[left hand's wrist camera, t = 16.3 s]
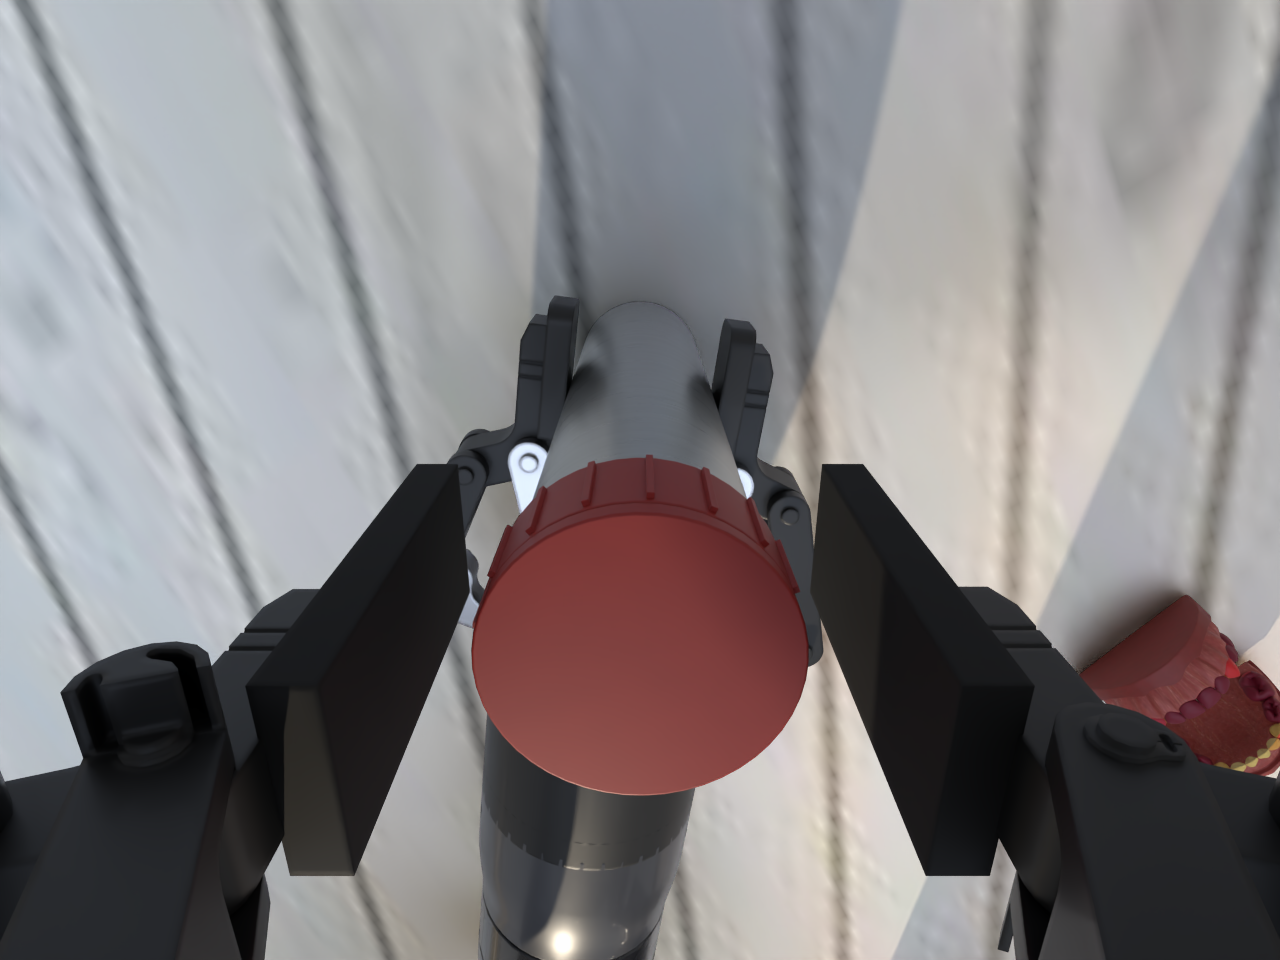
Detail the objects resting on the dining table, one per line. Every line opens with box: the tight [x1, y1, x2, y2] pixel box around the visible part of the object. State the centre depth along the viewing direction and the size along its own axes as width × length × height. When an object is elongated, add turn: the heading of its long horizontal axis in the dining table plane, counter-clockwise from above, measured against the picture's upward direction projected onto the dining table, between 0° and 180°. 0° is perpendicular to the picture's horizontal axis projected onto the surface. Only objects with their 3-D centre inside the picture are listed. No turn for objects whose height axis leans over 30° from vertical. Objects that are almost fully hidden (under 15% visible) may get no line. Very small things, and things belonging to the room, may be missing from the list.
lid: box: [471, 454, 809, 795], centre depth 11 cm, size 5×5×2 cm
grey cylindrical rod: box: [532, 302, 747, 500], centre depth 19 cm, size 4×4×18 cm
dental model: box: [1079, 595, 1280, 776], centre depth 31 cm, size 6×4×8 cm
